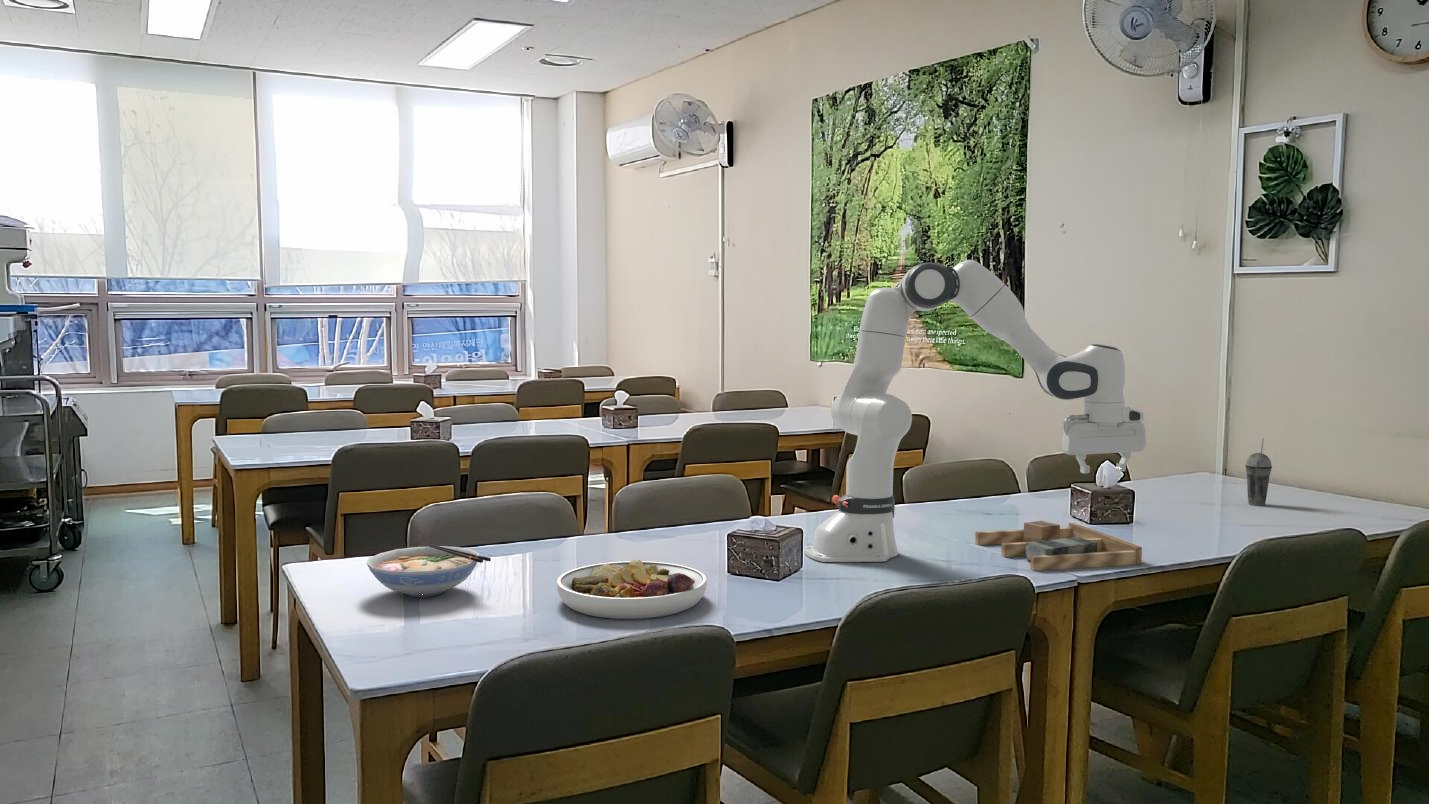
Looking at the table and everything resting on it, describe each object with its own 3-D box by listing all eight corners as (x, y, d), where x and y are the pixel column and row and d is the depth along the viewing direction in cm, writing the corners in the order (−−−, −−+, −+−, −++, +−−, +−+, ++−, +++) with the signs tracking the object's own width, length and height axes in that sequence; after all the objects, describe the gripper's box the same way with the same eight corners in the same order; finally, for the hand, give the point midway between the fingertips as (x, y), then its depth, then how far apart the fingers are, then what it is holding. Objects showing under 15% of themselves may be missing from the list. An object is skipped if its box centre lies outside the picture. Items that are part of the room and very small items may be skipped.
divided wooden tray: (1033, 570, 245) (1034, 553, 245) (975, 543, 273) (975, 527, 273) (1141, 564, 252) (1142, 547, 251) (1073, 538, 279) (1074, 522, 279)
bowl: (525, 608, 216) (525, 569, 215) (620, 577, 241) (620, 541, 240) (646, 633, 199) (646, 591, 199) (734, 597, 224) (735, 559, 223)
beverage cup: (1237, 503, 329) (1240, 437, 327) (1257, 501, 331) (1260, 436, 329) (1256, 507, 322) (1259, 440, 320) (1276, 506, 324) (1279, 439, 322)
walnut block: (1041, 551, 265) (1041, 527, 264) (1023, 546, 270) (1024, 522, 270) (1059, 548, 268) (1059, 524, 267) (1041, 544, 273) (1041, 520, 272)
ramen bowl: (344, 591, 227) (343, 553, 226) (442, 572, 243) (441, 536, 242) (404, 616, 209) (403, 574, 208) (505, 594, 225) (504, 555, 224)
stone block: (1021, 561, 256) (1022, 539, 256) (1073, 556, 261) (1073, 535, 260) (1045, 569, 248) (1045, 546, 247) (1097, 564, 252) (1098, 542, 252)
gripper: (1071, 416, 250) (1070, 476, 251) (1150, 413, 254) (1149, 471, 255) (1056, 414, 256) (1055, 472, 257) (1134, 410, 260) (1132, 467, 262)
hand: (1103, 472), depth 256 cm, fingers open, 8 cm apart
